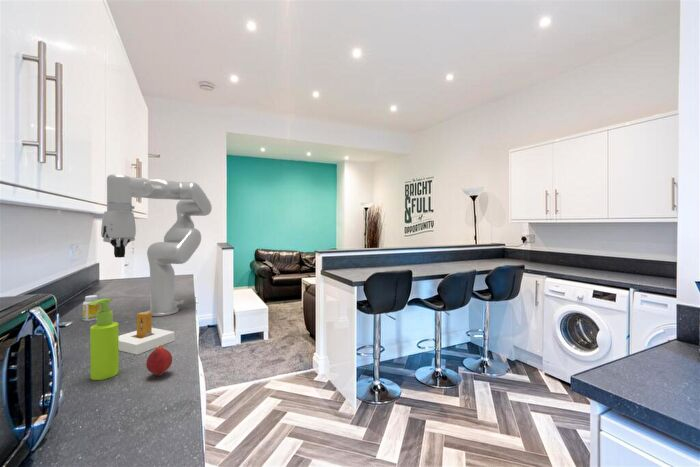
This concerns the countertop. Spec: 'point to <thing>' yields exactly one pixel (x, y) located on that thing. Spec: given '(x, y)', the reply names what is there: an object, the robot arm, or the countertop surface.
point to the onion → (159, 361)
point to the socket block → (144, 341)
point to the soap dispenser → (104, 343)
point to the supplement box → (144, 324)
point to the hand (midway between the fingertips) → (119, 257)
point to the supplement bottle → (90, 308)
